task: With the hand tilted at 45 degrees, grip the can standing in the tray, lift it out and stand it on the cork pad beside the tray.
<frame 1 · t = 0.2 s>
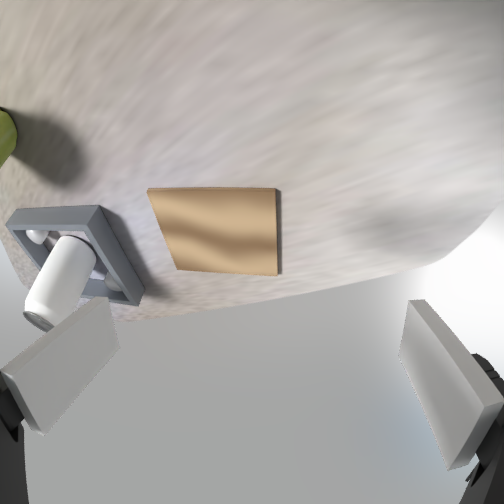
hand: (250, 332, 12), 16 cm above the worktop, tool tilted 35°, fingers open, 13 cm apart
plant pot: (2, 128, 23), on the worktop
pad: (218, 234, 32), on the worktop
can: (78, 248, 38), resting in tray
tray: (78, 249, 38), on the worktop
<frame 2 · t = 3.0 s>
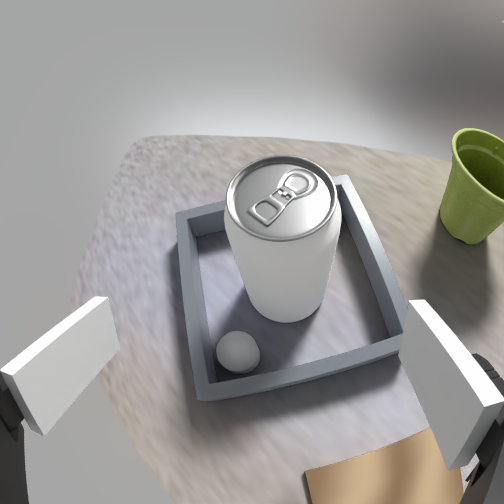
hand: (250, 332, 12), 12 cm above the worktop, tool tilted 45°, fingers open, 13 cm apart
plant pot: (462, 220, 27), on the worktop
can: (286, 288, 26), resting in tray
tray: (286, 287, 26), on the worktop
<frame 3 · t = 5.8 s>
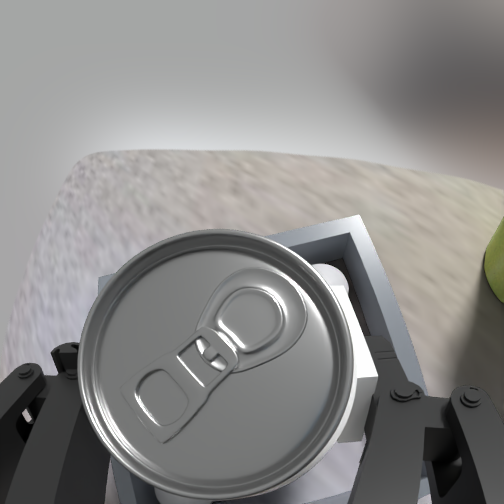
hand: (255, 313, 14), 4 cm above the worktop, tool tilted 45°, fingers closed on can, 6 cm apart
can: (259, 395, 16), resting in tray, touching gripper
tray: (259, 395, 16), on the worktop
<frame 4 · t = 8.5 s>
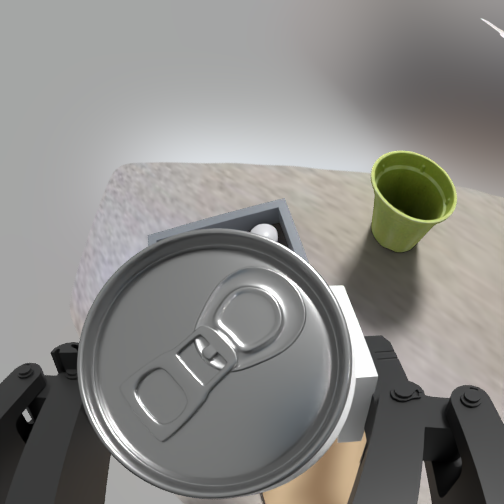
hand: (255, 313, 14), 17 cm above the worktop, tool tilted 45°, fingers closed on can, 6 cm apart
plant pot: (394, 231, 34), on the worktop
pad: (324, 475, 22), on the worktop
can: (259, 395, 16), point 13 cm above the worktop, touching gripper
tray: (233, 291, 33), on the worktop
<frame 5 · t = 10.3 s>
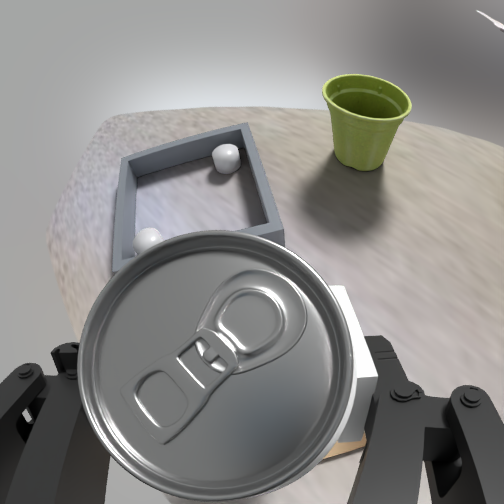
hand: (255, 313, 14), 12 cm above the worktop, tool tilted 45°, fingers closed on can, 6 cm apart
plant pot: (358, 155, 34), on the worktop
pad: (275, 397, 22), on the worktop
can: (259, 396, 16), point 7 cm above the worktop, touching gripper
tray: (193, 203, 33), on the worktop
when the fingers open (6 cm above the worktop, at t = 11.7 s): can drops 1 cm, resting on pad.
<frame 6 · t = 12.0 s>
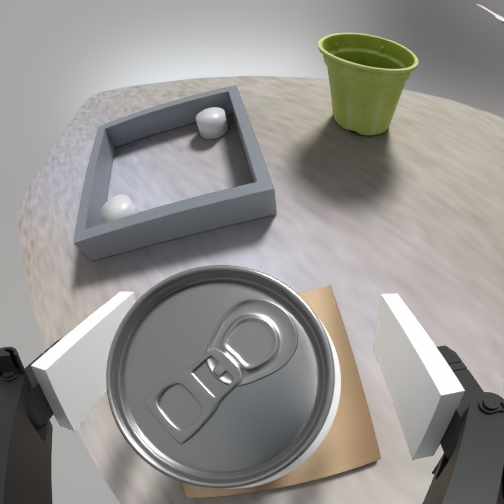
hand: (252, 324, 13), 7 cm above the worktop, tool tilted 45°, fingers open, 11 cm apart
plant pot: (360, 120, 29), on the worktop
pad: (262, 397, 17), on the worktop
can: (259, 398, 17), resting on pad
tray: (172, 170, 28), on the worktop
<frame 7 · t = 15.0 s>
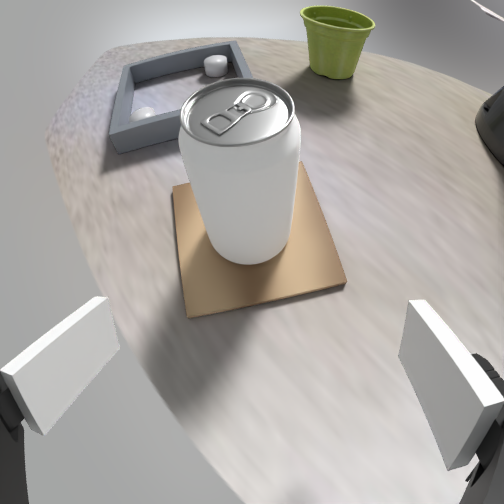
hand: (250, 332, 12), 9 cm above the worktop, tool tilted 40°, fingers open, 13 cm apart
plant pot: (331, 70, 36), on the worktop
pad: (251, 231, 25), on the worktop
can: (249, 230, 25), resting on pad
tray: (184, 95, 34), on the worktop
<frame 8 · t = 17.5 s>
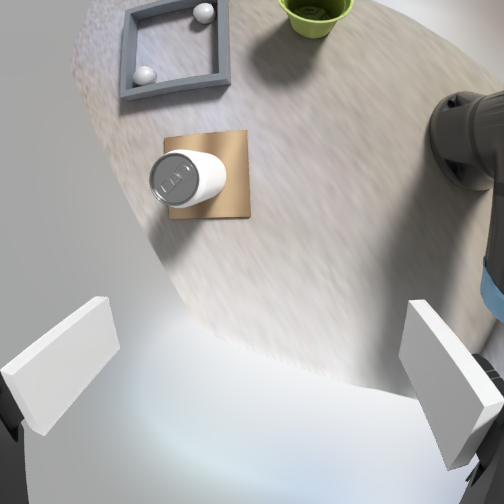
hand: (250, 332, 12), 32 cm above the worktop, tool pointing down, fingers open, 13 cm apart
plant pot: (311, 22, 35), on the worktop
pad: (206, 175, 42), on the worktop
can: (204, 175, 42), resting on pad
tray: (177, 45, 37), on the worktop
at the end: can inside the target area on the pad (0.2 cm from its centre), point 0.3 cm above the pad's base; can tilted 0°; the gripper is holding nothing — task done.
